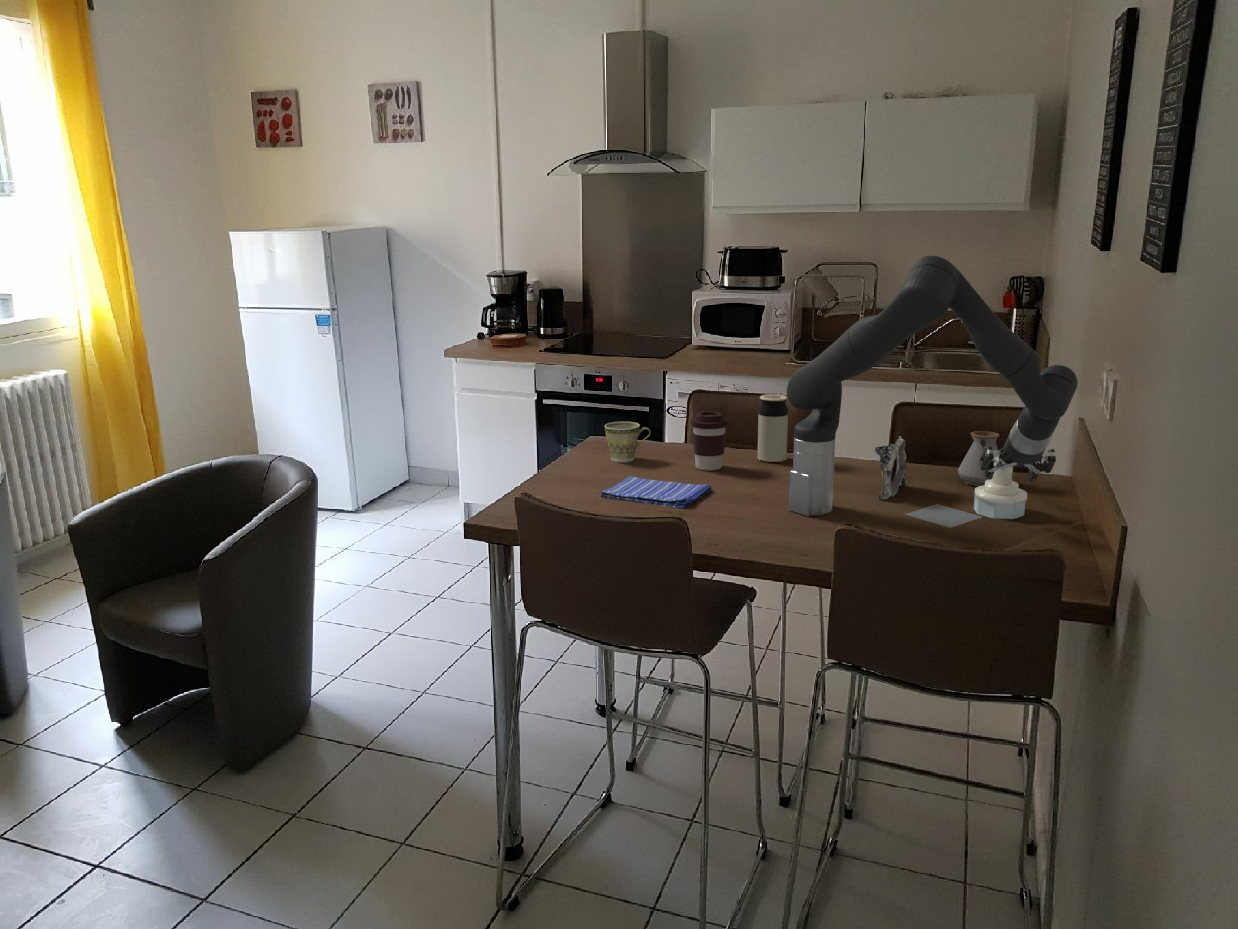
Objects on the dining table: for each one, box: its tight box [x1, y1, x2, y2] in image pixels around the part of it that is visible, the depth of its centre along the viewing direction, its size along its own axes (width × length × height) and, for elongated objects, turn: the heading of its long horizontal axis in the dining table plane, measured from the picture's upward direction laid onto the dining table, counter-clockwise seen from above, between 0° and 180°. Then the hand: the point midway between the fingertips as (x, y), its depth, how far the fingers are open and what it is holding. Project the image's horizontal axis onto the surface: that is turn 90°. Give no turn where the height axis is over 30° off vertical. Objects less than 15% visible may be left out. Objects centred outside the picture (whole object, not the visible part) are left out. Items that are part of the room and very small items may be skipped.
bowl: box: [973, 496, 1027, 520], centre depth 208 cm, size 10×10×4 cm
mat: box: [904, 503, 983, 529], centre depth 206 cm, size 12×12×1 cm
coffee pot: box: [957, 430, 1000, 485], centre depth 225 cm, size 21×12×15 cm, turn 156°
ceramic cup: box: [604, 421, 652, 463], centre depth 258 cm, size 13×10×10 cm
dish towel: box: [600, 476, 712, 509], centre depth 227 cm, size 17×24×3 cm
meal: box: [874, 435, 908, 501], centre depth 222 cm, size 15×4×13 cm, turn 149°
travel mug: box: [757, 393, 789, 462], centre depth 254 cm, size 8×8×18 cm
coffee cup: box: [690, 411, 729, 472], centre depth 248 cm, size 10×10×15 cm
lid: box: [973, 462, 1028, 504], centre depth 206 cm, size 11×11×10 cm
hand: (1009, 477), depth 201 cm, fingers open, 8 cm apart
